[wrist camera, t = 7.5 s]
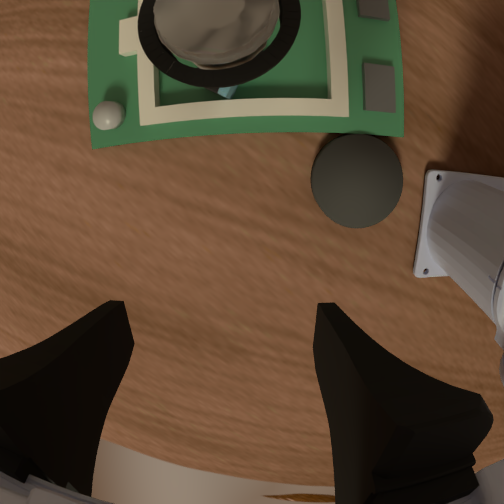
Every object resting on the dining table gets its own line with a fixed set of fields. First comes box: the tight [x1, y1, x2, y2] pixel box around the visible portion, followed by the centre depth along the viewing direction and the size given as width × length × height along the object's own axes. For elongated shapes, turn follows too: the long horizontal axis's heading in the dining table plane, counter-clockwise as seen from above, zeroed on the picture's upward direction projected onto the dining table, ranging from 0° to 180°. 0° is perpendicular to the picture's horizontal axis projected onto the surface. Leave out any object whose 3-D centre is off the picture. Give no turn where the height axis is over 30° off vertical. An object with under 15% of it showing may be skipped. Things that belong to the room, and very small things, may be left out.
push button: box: [137, 0, 301, 100], centre depth 11 cm, size 7×5×10 cm
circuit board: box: [88, 0, 404, 149], centre depth 15 cm, size 20×14×2 cm
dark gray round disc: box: [311, 134, 403, 228], centre depth 19 cm, size 6×6×1 cm
